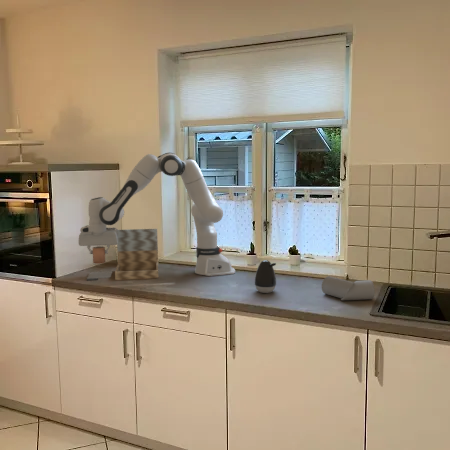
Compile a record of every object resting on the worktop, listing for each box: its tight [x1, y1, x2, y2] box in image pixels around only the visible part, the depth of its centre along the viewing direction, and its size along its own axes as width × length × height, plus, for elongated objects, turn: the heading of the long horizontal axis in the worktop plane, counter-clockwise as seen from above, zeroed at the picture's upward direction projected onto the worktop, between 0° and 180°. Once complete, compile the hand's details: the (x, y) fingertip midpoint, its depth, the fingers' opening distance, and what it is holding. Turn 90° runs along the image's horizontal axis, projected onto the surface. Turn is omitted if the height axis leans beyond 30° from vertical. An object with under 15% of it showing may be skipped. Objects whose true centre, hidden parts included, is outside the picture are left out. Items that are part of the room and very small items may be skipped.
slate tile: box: [86, 270, 113, 281], centre depth 254 cm, size 12×14×1 cm
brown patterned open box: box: [114, 228, 159, 281], centre depth 253 cm, size 22×20×24 cm
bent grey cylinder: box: [321, 275, 376, 302], centre depth 213 cm, size 18×11×20 cm
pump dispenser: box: [254, 259, 277, 294], centre depth 222 cm, size 10×10×15 cm
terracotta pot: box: [92, 245, 106, 264], centre depth 252 cm, size 6×6×8 cm
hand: (98, 253), depth 252 cm, fingers closed on terracotta pot, 6 cm apart
